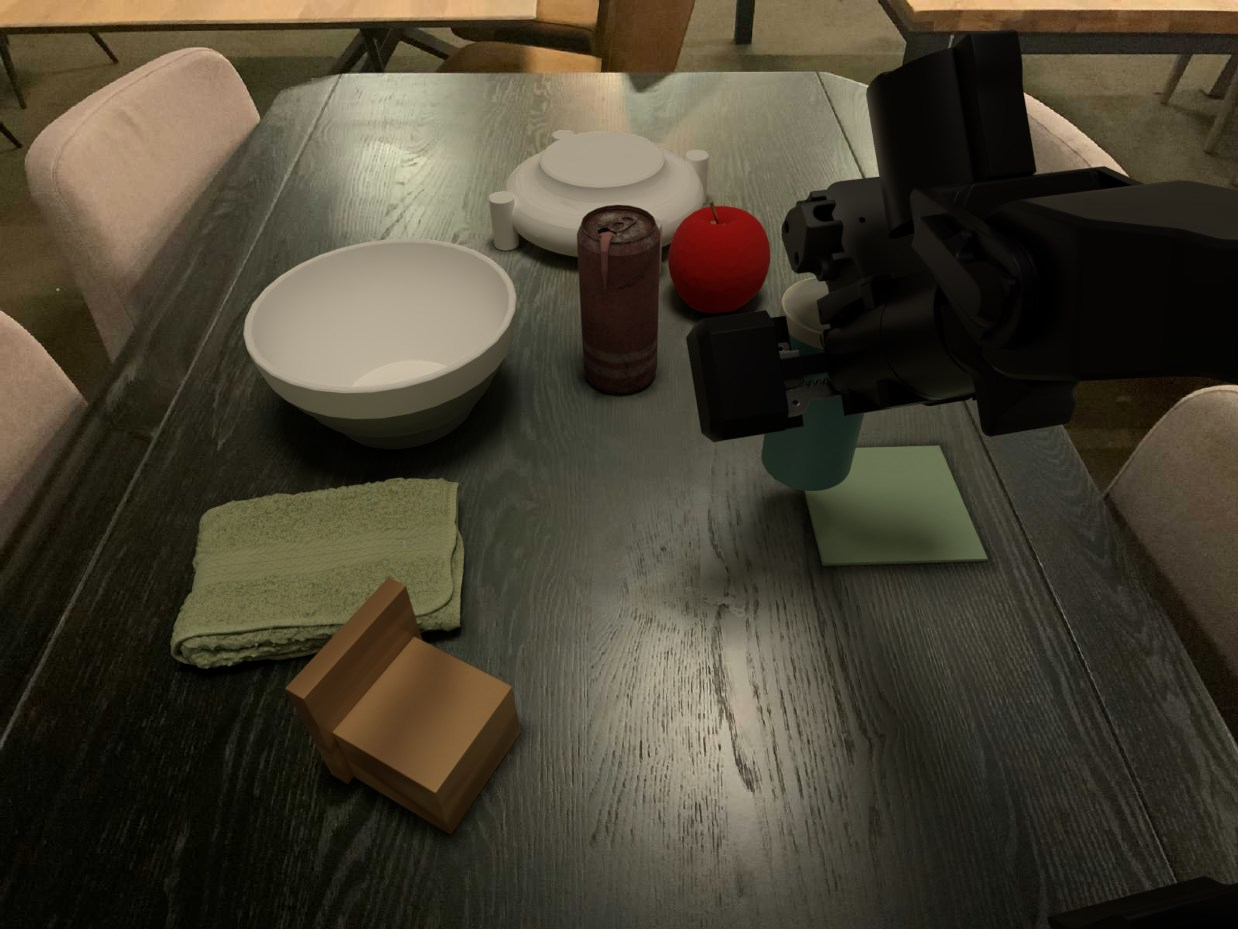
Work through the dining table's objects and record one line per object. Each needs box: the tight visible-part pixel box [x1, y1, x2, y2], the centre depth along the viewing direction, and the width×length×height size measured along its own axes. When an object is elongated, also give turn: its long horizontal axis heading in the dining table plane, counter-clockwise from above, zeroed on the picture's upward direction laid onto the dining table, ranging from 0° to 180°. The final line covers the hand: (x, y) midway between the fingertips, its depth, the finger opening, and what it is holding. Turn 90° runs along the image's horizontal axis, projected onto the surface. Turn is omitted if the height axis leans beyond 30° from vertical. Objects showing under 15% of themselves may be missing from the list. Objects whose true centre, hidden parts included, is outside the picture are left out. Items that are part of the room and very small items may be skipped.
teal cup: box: [760, 276, 865, 492], centre depth 52 cm, size 6×6×12 cm
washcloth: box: [170, 477, 465, 669], centre depth 56 cm, size 13×18×3 cm
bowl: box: [243, 237, 518, 450], centre depth 66 cm, size 20×20×10 cm
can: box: [577, 205, 660, 395], centre depth 67 cm, size 6×6×14 cm
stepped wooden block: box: [285, 577, 521, 835], centre depth 45 cm, size 8×8×9 cm
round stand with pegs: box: [488, 129, 710, 276], centre depth 87 cm, size 24×24×7 cm
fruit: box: [667, 199, 771, 314], centre depth 76 cm, size 9×9×10 cm
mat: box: [803, 445, 989, 567], centre depth 61 cm, size 11×11×1 cm
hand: (811, 377), depth 53 cm, fingers closed on teal cup, 6 cm apart
